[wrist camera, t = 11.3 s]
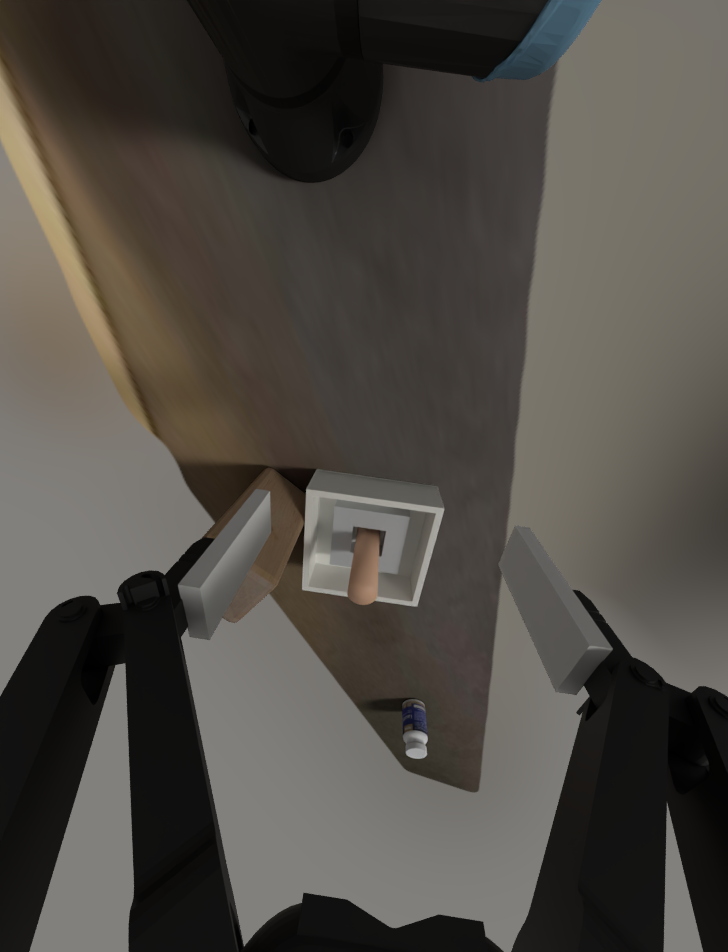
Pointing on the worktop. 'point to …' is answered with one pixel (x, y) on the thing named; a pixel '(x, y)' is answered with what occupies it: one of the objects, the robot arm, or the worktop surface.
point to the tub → (374, 507)
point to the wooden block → (277, 547)
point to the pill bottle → (414, 728)
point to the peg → (364, 567)
